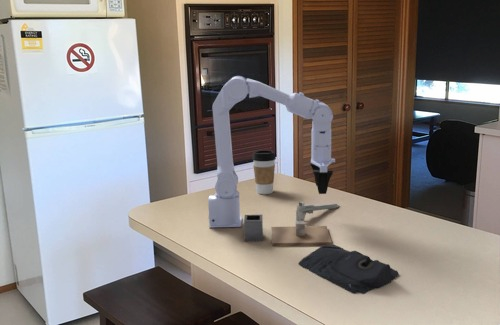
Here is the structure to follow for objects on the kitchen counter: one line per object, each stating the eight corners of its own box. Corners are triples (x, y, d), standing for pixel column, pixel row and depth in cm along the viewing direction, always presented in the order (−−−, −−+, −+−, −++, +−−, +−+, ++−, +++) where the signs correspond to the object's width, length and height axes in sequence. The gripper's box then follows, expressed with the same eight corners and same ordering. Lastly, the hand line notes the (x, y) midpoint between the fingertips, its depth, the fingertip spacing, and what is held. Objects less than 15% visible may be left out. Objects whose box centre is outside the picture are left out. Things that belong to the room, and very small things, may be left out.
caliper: (298, 223, 158) (298, 203, 157) (296, 222, 159) (296, 203, 157) (339, 207, 172) (339, 188, 170) (336, 206, 173) (336, 188, 171)
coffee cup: (251, 195, 186) (250, 154, 182) (255, 188, 194) (254, 148, 190) (274, 195, 184) (274, 154, 181) (277, 188, 193) (277, 148, 189)
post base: (272, 248, 142) (271, 231, 141) (271, 231, 153) (271, 215, 152) (331, 247, 141) (331, 230, 140) (326, 230, 153) (326, 214, 152)
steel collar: (244, 241, 145) (244, 221, 144) (245, 234, 150) (244, 214, 149) (262, 241, 145) (262, 220, 144) (262, 234, 150) (262, 214, 149)
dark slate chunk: (336, 249, 140) (337, 232, 138) (404, 278, 122) (405, 260, 121) (293, 265, 131) (293, 247, 130) (359, 299, 114) (360, 279, 112)
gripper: (338, 150, 146) (337, 196, 149) (332, 139, 160) (331, 182, 163) (312, 150, 146) (312, 197, 149) (308, 140, 160) (308, 182, 163)
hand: (321, 189), depth 156 cm, fingers open, 7 cm apart
